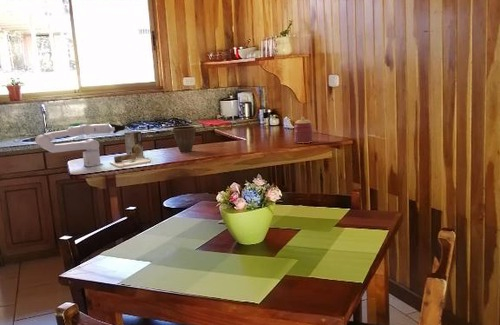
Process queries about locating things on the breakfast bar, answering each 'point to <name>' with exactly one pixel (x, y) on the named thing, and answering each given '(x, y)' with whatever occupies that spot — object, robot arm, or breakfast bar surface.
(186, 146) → the plant pot
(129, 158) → the tuning peg
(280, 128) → the breakfast bar surface
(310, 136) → the canister
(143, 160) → the dial board
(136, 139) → the coffee box
